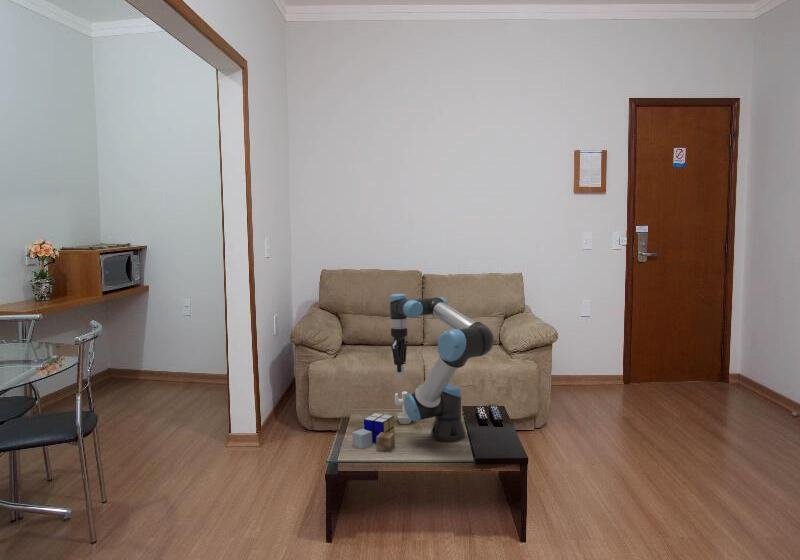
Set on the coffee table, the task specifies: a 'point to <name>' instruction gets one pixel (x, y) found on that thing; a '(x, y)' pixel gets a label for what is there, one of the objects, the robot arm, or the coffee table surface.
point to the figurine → (403, 416)
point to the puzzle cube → (379, 424)
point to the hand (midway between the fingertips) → (400, 378)
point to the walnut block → (385, 442)
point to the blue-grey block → (362, 438)
